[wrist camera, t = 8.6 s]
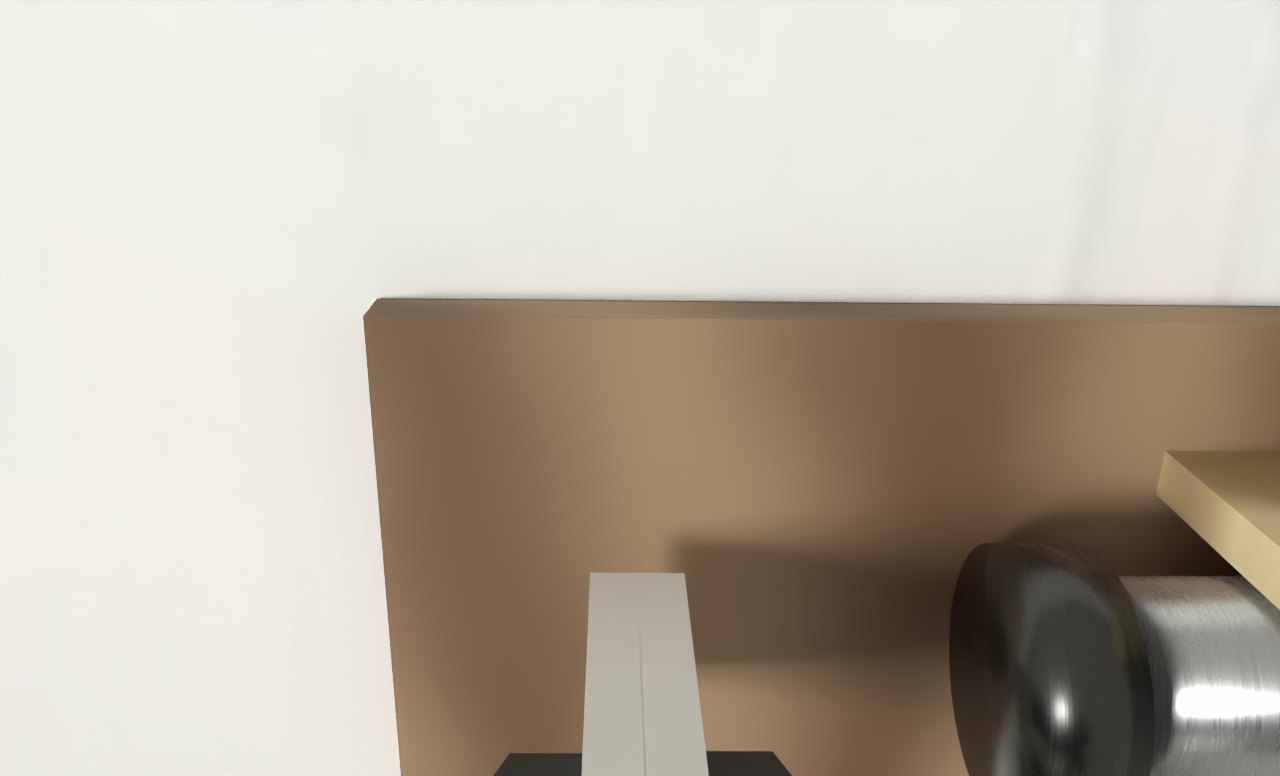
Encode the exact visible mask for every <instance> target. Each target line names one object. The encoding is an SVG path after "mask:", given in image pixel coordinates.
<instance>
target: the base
mask: <svg viewBox="0 0 1280 776" xmlns="http://www.w3.org/2000/svg"><path fill="white" fill-rule="evenodd" d="M363 319H364V331H365V343H366V355H367V367H368V379H369V392H370V404H371V416H372V428H373V440H374V452H375V464H376V477H377V489H378V501H379V513H380V525H381V537H382V549H383V562H384V574H385V586H386V598H387V610H388V622H389V634H390V647H391V659H392V671H393V683H394V695H395V707H396V719H397V732H398V744H399V756H400V768H401V776H493V775H494V774H495V773H496V771H497V770H498V769H499V767H500V766H501V764H502V763H503V762H504V760H505V759H506V758H507V756H508V755H509V753H583V729H584V706H585V682H586V658H587V635H588V611H589V587H590V572H599V573H684V574H685V582H686V591H687V599H688V607H689V616H690V624H691V632H692V640H693V649H694V657H695V665H696V674H697V682H698V690H699V699H700V707H701V715H702V724H703V732H704V740H705V748H706V751H773V752H774V754H775V755H776V756H777V757H778V759H779V760H780V761H781V762H782V764H783V765H784V766H785V767H786V769H787V770H788V771H789V772H790V774H791V775H792V776H969V774H968V771H967V768H966V765H965V762H964V758H963V754H962V751H961V747H960V742H959V738H958V734H957V728H956V723H955V717H954V710H953V703H952V694H951V684H950V668H949V633H950V619H951V610H952V603H953V597H954V592H955V588H956V583H957V580H958V577H959V574H960V570H961V568H962V566H963V564H964V561H965V560H966V558H967V556H968V555H969V553H970V552H971V551H972V550H973V549H974V548H975V547H977V546H978V545H980V544H983V543H1078V544H1084V545H1086V546H1089V547H1091V548H1093V549H1094V550H1095V551H1097V552H1098V553H1100V554H1101V555H1102V556H1103V557H1104V558H1105V559H1106V560H1107V561H1108V563H1109V564H1110V565H1111V567H1112V568H1113V569H1114V571H1115V572H1116V574H1117V575H1118V576H1244V577H1245V578H1246V579H1247V580H1248V581H1249V582H1250V583H1251V584H1252V585H1253V586H1254V587H1255V588H1256V589H1258V590H1259V591H1260V592H1261V593H1262V594H1263V595H1264V596H1265V597H1266V598H1267V599H1268V600H1269V601H1270V602H1271V603H1273V604H1274V605H1275V606H1276V607H1277V608H1278V609H1279V610H1280V307H1254V306H1143V305H1031V304H919V303H807V302H696V301H584V300H472V299H377V300H376V301H375V302H374V303H373V305H372V306H371V307H370V309H369V310H368V311H367V312H366V314H365V315H364V316H363Z"/></svg>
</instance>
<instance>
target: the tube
mask: <svg viewBox="0 0 1280 776" xmlns="http://www.w3.org/2000/svg"><path fill="white" fill-rule="evenodd" d="M949 668H950V684H951V694H952V703H953V710H954V717H955V723H956V728H957V734H958V738H959V742H960V747H961V751H962V754H963V758H964V762H965V765H966V768H967V771H968V774H969V776H1280V610H1279V609H1278V608H1277V607H1276V606H1275V605H1274V604H1273V603H1271V602H1270V601H1269V600H1268V599H1267V598H1266V597H1265V596H1264V595H1263V594H1262V593H1261V592H1260V591H1259V590H1258V589H1256V588H1255V587H1254V586H1253V585H1252V584H1251V583H1250V582H1249V581H1248V580H1247V579H1246V578H1245V577H1244V576H1118V575H1117V574H1116V572H1115V571H1114V569H1113V568H1112V567H1111V565H1110V564H1109V563H1108V561H1107V560H1106V559H1105V558H1104V557H1103V556H1102V555H1101V554H1100V553H1098V552H1097V551H1095V550H1094V549H1093V548H1091V547H1089V546H1086V545H1084V544H1078V543H983V544H980V545H978V546H977V547H975V548H974V549H973V550H972V551H971V552H970V553H969V555H968V556H967V558H966V560H965V561H964V564H963V566H962V568H961V570H960V574H959V577H958V580H957V583H956V588H955V592H954V597H953V603H952V610H951V619H950V633H949Z"/></svg>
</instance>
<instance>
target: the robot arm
mask: <svg viewBox="0 0 1280 776" xmlns="http://www.w3.org/2000/svg"><path fill="white" fill-rule="evenodd" d="M493 776H792V775H791V774H790V772H789V771H788V770H787V769H786V767H785V766H784V765H783V764H782V762H781V761H780V760H779V759H778V757H777V756H776V755H775V754H774V752H773V751H706V748H705V740H704V732H703V724H702V715H701V707H700V699H699V690H698V682H697V674H696V665H695V657H694V649H693V640H692V632H691V624H690V616H689V607H688V599H687V591H686V582H685V574H684V573H599V572H590V587H589V611H588V635H587V658H586V682H585V706H584V729H583V753H509V755H508V756H507V758H506V759H505V760H504V762H503V763H502V764H501V766H500V767H499V769H498V770H497V771H496V773H495V774H494V775H493Z"/></svg>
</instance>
